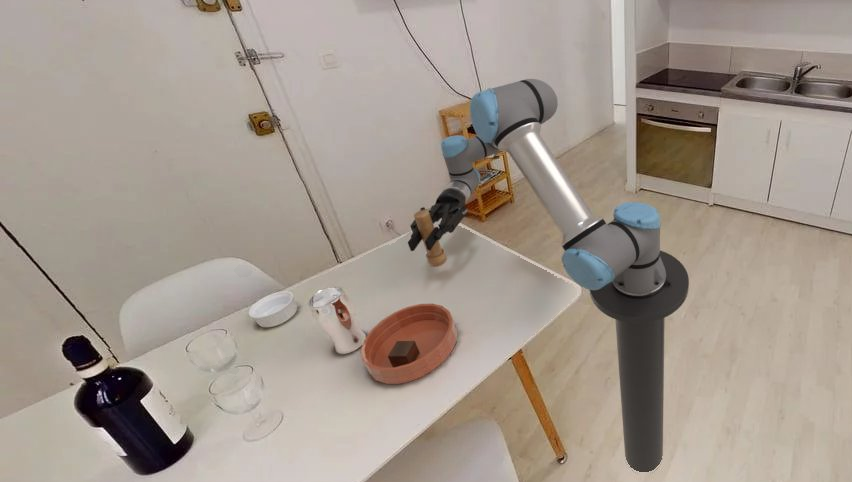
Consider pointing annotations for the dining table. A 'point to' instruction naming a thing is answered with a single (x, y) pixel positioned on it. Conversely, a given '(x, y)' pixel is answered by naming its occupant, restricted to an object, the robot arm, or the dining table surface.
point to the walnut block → (403, 353)
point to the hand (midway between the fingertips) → (419, 246)
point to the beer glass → (337, 318)
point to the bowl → (410, 324)
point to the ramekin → (274, 309)
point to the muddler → (425, 228)
